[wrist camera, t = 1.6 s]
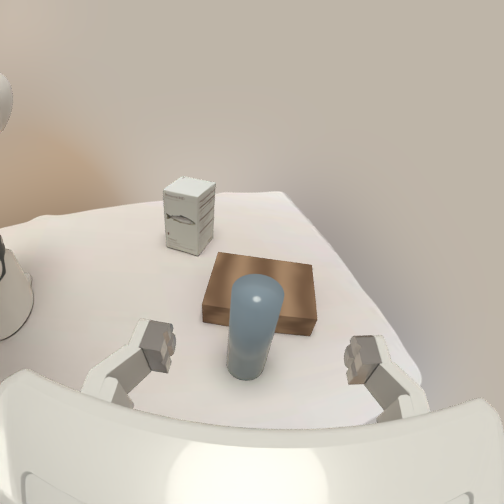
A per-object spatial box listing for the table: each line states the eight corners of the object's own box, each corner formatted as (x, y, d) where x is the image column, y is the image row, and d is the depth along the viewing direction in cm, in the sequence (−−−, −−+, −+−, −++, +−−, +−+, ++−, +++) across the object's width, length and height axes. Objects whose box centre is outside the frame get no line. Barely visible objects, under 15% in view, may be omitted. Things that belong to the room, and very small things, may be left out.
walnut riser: (202, 321, 39) (202, 304, 36) (217, 269, 48) (218, 251, 46) (309, 336, 39) (317, 319, 36) (306, 281, 48) (311, 264, 46)
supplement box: (165, 247, 52) (160, 189, 44) (183, 229, 58) (182, 174, 50) (198, 257, 51) (197, 196, 43) (214, 237, 56) (216, 181, 49)
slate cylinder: (223, 377, 32) (227, 307, 24) (229, 346, 36) (235, 270, 28) (262, 382, 32) (283, 315, 24) (265, 351, 36) (284, 277, 28)
